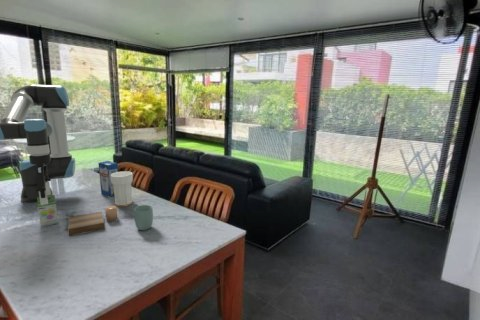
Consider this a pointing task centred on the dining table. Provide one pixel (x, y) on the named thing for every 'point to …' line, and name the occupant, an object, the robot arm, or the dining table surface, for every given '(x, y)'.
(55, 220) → the ink box
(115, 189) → the cup
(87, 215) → the podium
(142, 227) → the cup
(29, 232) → the dining table surface
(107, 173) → the milk carton
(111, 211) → the wooden peg
